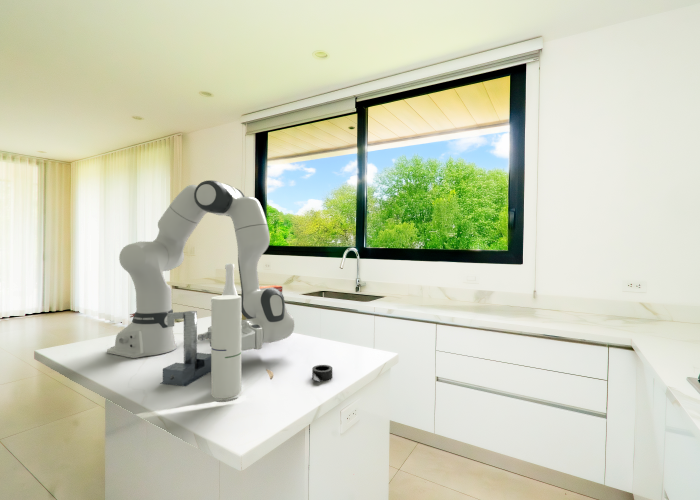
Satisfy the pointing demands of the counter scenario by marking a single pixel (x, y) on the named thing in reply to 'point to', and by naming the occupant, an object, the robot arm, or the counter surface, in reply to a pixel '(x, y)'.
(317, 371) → the black round winged cup
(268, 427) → the counter surface
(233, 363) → the cylindrical container
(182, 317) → the brushed metal post
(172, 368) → the vise
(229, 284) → the white long rounded piece
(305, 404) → the counter surface
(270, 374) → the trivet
